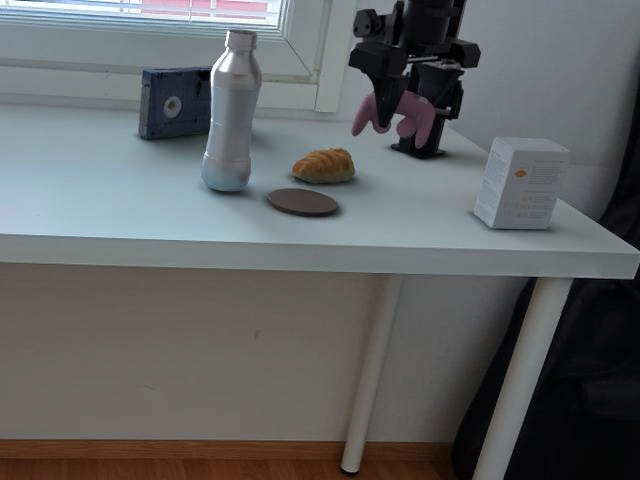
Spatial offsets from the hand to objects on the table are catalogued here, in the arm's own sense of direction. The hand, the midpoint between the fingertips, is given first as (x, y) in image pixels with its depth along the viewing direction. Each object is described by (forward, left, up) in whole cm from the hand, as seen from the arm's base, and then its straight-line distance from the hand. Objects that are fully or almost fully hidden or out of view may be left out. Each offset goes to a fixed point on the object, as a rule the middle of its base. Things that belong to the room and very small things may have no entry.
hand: (400, 124), depth 110 cm
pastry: (0, -11, -11) cm, 15 cm away
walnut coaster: (+11, -4, -10) cm, 16 cm away
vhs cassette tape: (+5, -36, -11) cm, 38 cm away
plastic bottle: (+17, -13, -11) cm, 24 cm away
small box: (-11, +13, -11) cm, 20 cm away
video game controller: (+1, -1, -2) cm, 2 cm away
